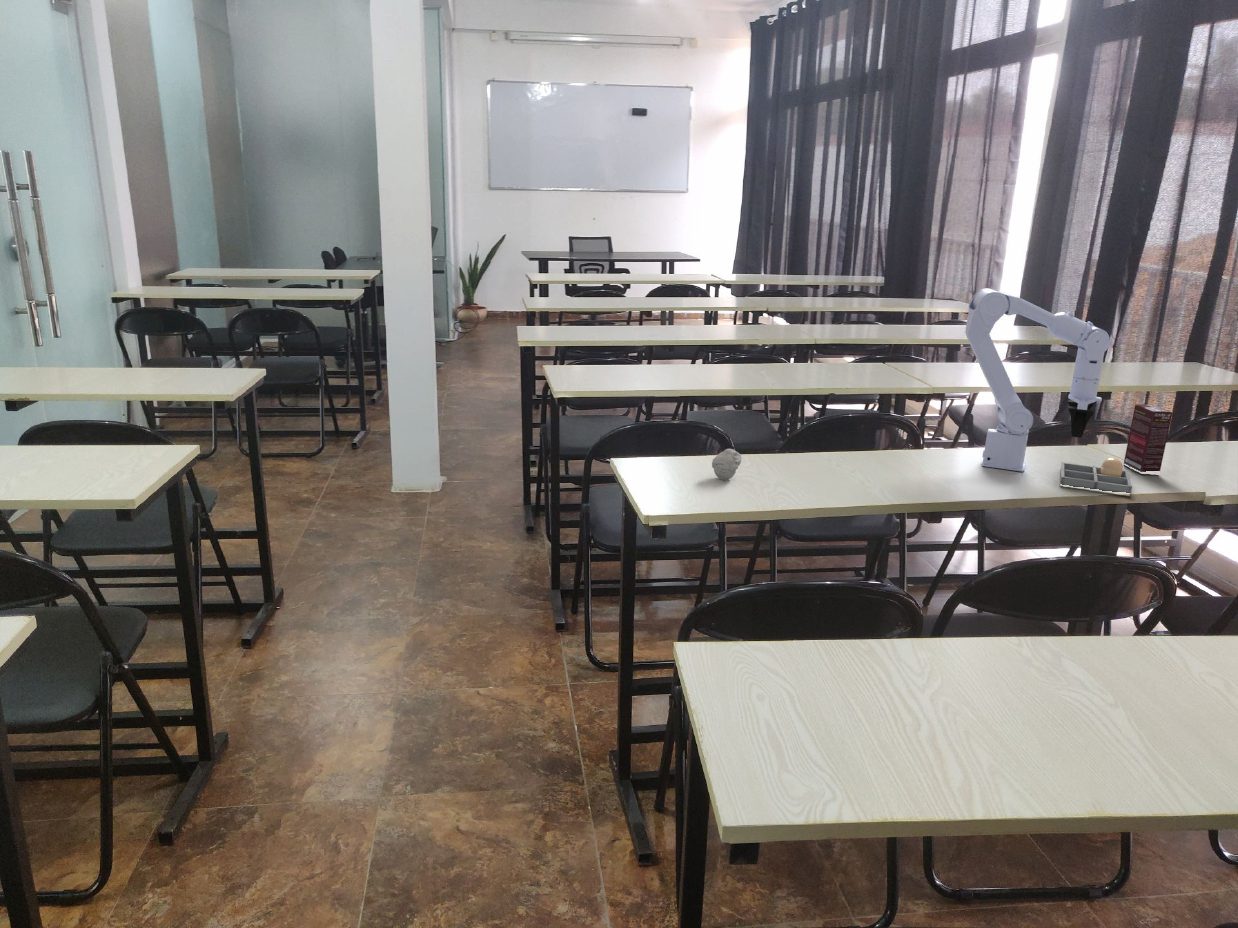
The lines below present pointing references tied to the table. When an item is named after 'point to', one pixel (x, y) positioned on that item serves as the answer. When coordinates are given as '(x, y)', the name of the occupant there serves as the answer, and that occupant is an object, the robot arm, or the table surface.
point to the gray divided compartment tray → (1093, 478)
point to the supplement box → (1147, 437)
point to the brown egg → (1112, 467)
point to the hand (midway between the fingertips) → (1076, 433)
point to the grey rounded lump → (726, 464)
